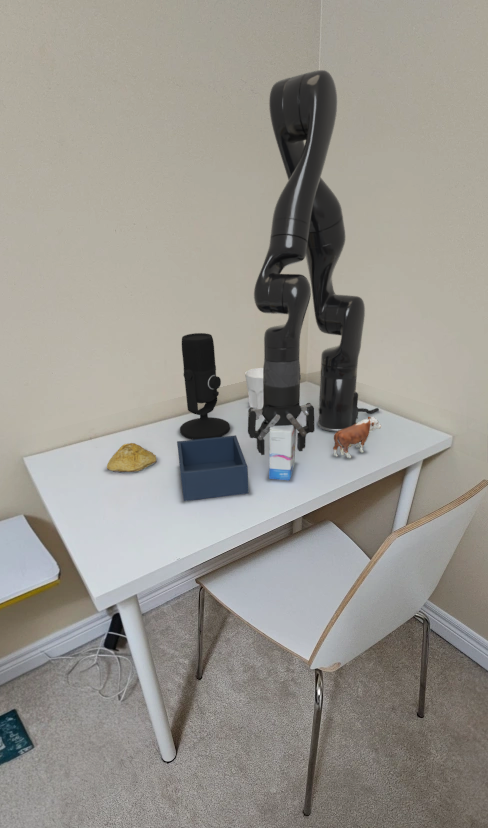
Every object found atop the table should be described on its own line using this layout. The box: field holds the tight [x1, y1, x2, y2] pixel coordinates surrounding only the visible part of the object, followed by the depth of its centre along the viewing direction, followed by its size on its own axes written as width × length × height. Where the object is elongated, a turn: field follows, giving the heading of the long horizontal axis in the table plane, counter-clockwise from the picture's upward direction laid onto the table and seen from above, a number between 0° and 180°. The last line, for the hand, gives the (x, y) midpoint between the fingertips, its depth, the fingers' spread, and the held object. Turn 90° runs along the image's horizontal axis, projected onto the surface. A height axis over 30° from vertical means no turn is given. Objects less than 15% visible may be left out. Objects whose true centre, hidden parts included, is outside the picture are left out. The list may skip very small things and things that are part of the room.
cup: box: [244, 367, 264, 409], centre depth 143 cm, size 10×10×10 cm
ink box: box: [268, 425, 297, 481], centre depth 105 cm, size 9×5×12 cm, turn 168°
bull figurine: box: [332, 415, 382, 459], centre depth 113 cm, size 4×13×8 cm, turn 121°
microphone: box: [179, 332, 231, 440], centre depth 124 cm, size 14×14×25 cm
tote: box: [176, 434, 250, 502], centre depth 104 cm, size 14×16×7 cm
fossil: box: [106, 442, 158, 473], centre depth 113 cm, size 11×6×10 cm
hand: (281, 451), depth 105 cm, fingers open, 8 cm apart
